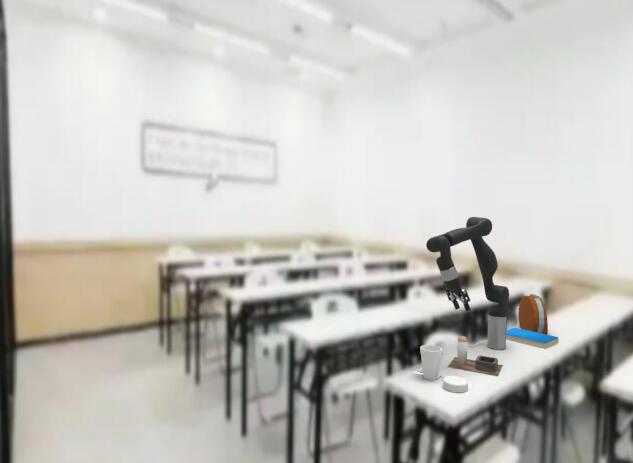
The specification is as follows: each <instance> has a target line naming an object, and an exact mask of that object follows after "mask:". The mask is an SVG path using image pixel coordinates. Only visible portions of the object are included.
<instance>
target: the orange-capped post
mask: <svg viewBox="0 0 633 463" xmlns="http://www.w3.org/2000/svg"><path fill="white" fill-rule="evenodd" d="M456 348H457V350H456V351H457V353H456V355H457V356H456V357H457V364H458V365H467V359H468V338H467V337H466V336H464V335H460V336H459V337H458V338H457V347H456Z"/></svg>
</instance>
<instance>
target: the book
mask: <svg viewBox="0 0 633 463" xmlns="http://www.w3.org/2000/svg"><path fill="white" fill-rule="evenodd" d="M506 341H511V342H515V343H518V344H523V345H527V346H530V347H535V348H539V349H542V348H543V350H547V349H548V347H549V348H551V347H553V346H555V344H556V345H558V344H559V337H558V336H553V335H550V334H547V335H546V334H541V333H537V332H532V331H528V330H524V329H521V328H520V327H519V328H518V327H512V328H509V329H506ZM557 343H558V344H557ZM550 346H551V347H550Z"/></svg>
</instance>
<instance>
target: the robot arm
mask: <svg viewBox="0 0 633 463" xmlns="http://www.w3.org/2000/svg"><path fill="white" fill-rule="evenodd" d="M465 226H466V227H459V228H455V229H451V230H449V231H447V232H445V233H443V234H439V235H435V236H433V237H429V239H428V240H427V241H426V244H425V245H426V249H427V250H428V251H429V253H440V256H439V257H437V258H436V259H435V260H436V261H435V262H436V265H437V268H438V270H439V274H440V277H441V280H442V282H443V285H444V288H445V294H446V296H447V299H448V301H451V303H452V305H453V308H454V309H455V310H457V311H458V310H459V309H461V307H460V305H459V304H460V303H459V302H461V303H462V306H464V310H465V312H470V311H471V309H472V308H471V306H470V304H469V303H470V302H471V299H470V298H471V297H470V296H469V293H468V291H467V289H466V288H464V289H462V288H461V286H462V285H463V283H462V280H461V277H460V275H459V272H458V270H457V268H456V266H455V264H454V261H453V259H452V251H451V250H452V249H451V247H454V246H457V245H458V244H462V243H464V242H466V241H469V240H470V242H471V244H472V247H473V250H474V253H475V257H476V262H477V264H478V267H479V270H480V274H481V278H482V283H483V289H484V294H485V297H486V299H487V301H488V302H491V303H497V307H492V308H489V309H488V311H487V312H488V314H487V316H488V317H487V318H488V319H487V320H488V321H487V342H486V343H487V345H486V346H487V348H489V349H493V350H499V351H502V350H506V348H507V340H506V330H508V328H507V320H508V311H509V301H510V290H509V288H508V287H507V286H503V285H498V284H495V283H494V279H493V278H494V275H496V272H497V270H498V266H499V264H498V260H497V256H496V254H495V252H494V251H493V249H492V247H490V246H489V245H488V243H487V242H486V241H485V240H484V238H483V237H486V236H488V235H490V234H491V232H492V231H493V222H492V221H491V219H489V218H486V217H478V216H471V217H469V218H467V220H466V224H465ZM458 300H459V301H458Z"/></svg>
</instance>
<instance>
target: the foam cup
mask: <svg viewBox="0 0 633 463" xmlns="http://www.w3.org/2000/svg"><path fill="white" fill-rule="evenodd" d="M419 348H420V349H419V350H420V351H419V352H420V355H421V357H420V358H421V365H422V366H421V367H422V375H423V379H426V380H429V381H435V380H439V374H440V370H441V364H442V363H441V361H442V357H443V348H442V347H441V346H439V345H434V344H425V345H424V344H423V345H421V346H420V347H419Z"/></svg>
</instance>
